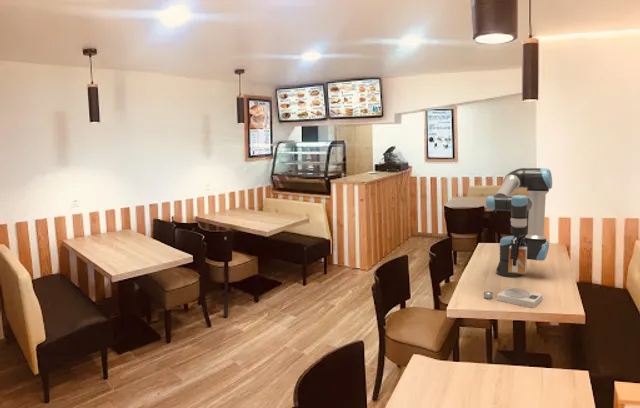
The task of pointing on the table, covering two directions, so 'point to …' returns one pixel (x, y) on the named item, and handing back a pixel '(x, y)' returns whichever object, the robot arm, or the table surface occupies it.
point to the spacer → (488, 295)
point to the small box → (519, 260)
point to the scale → (520, 297)
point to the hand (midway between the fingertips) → (517, 269)
